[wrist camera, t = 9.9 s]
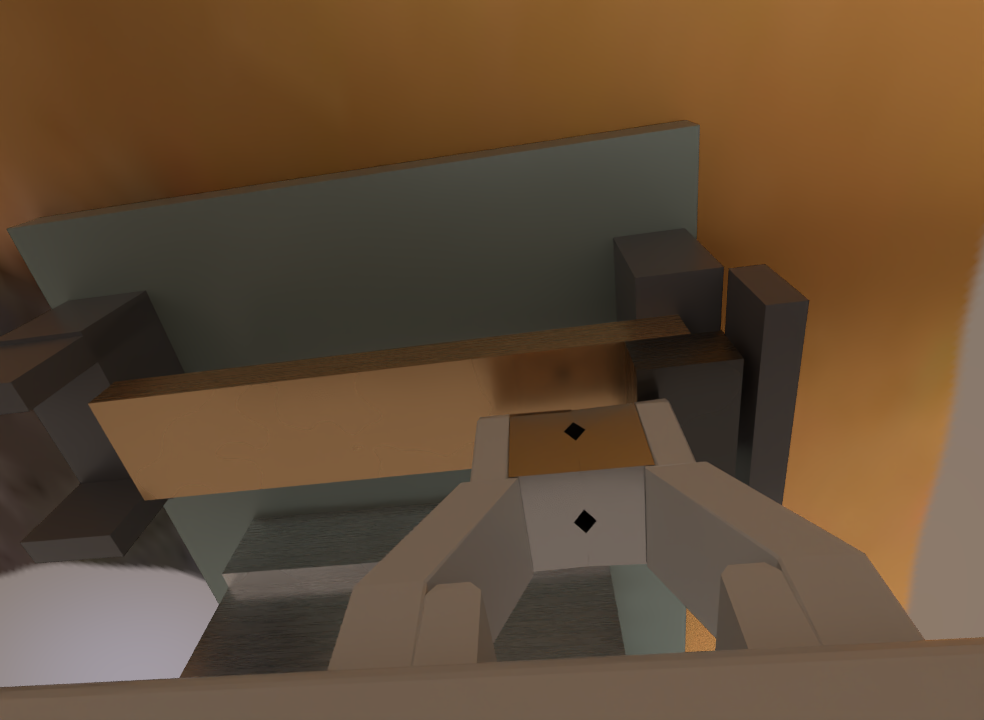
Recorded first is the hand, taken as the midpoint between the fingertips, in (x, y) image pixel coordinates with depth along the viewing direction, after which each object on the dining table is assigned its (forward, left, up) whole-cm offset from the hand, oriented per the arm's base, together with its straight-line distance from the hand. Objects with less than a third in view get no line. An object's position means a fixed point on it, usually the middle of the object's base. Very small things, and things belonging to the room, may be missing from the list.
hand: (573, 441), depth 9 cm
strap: (-3, 0, -2) cm, 4 cm away
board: (-4, -9, -5) cm, 11 cm away
